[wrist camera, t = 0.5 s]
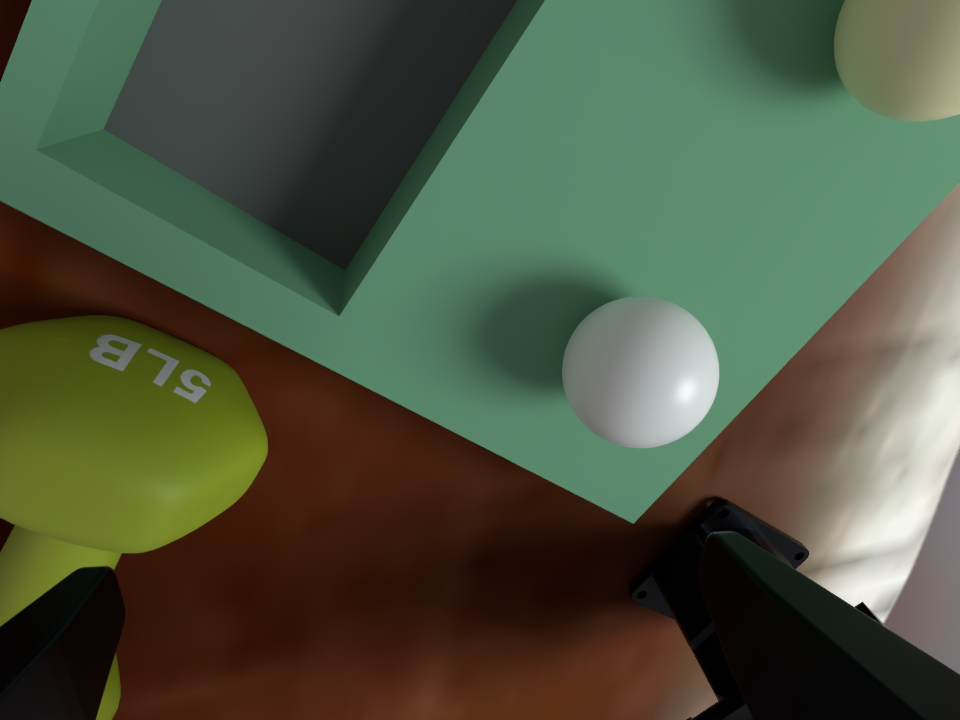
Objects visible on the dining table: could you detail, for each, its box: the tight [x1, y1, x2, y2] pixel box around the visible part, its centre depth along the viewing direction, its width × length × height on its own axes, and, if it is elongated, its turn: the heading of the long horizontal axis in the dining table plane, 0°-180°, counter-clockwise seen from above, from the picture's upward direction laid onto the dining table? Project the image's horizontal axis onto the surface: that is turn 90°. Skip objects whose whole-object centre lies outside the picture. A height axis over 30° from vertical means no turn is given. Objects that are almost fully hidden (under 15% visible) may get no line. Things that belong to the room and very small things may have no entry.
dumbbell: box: [0, 315, 268, 720], centre depth 19 cm, size 16×8×7 cm, turn 146°
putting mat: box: [0, 0, 960, 524], centre depth 16 cm, size 21×22×4 cm
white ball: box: [562, 296, 719, 448], centre depth 16 cm, size 4×4×4 cm
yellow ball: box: [834, 0, 960, 122], centre depth 13 cm, size 4×4×4 cm
